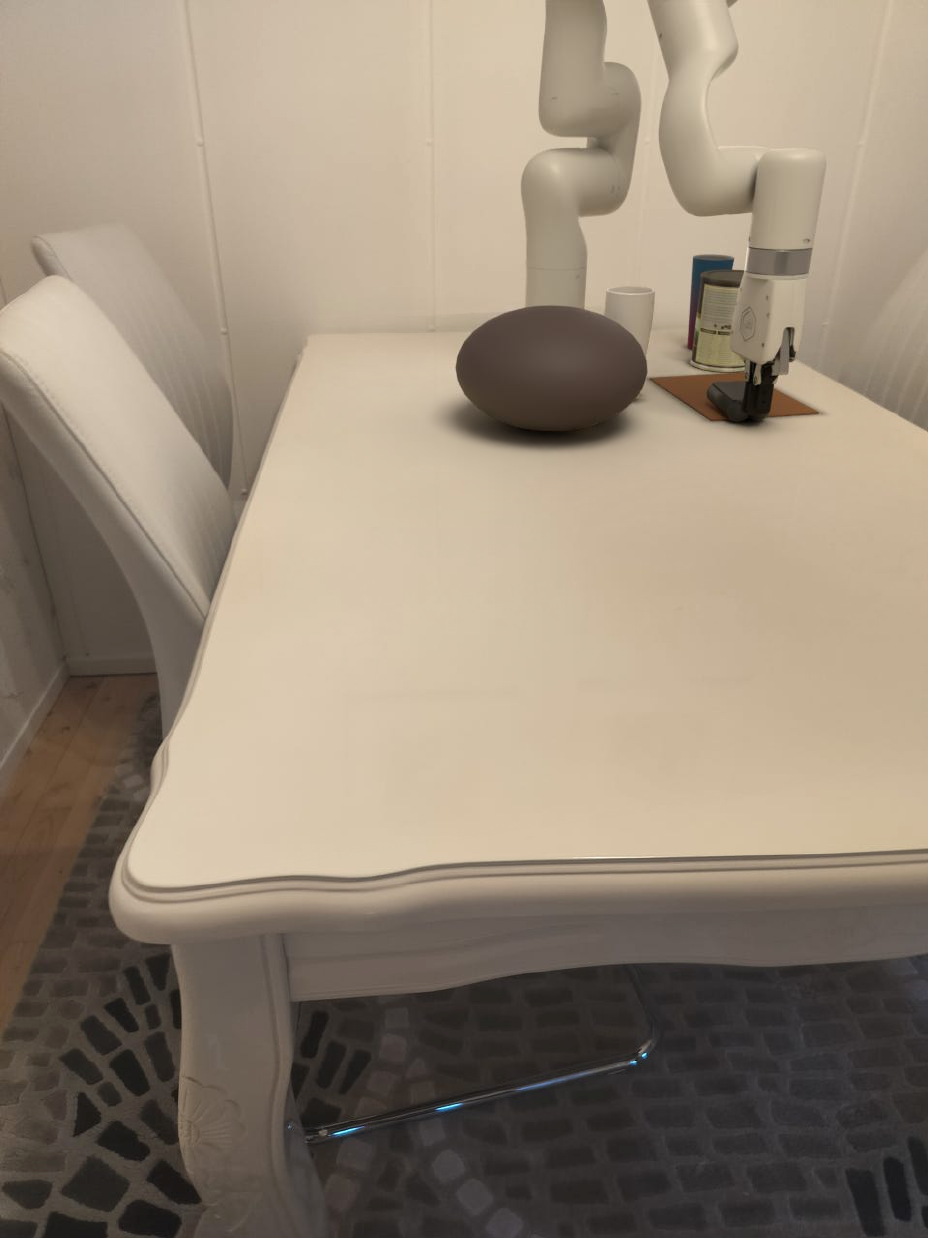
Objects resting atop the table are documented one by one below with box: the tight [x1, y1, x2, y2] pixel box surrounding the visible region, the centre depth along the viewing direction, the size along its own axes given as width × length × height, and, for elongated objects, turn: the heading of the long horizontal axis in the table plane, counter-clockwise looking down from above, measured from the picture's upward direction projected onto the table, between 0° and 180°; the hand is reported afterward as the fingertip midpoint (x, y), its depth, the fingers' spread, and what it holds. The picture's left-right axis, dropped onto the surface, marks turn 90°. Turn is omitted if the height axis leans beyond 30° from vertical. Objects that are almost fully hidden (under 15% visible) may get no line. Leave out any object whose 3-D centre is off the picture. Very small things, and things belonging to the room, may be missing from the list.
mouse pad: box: [649, 372, 819, 421], centre depth 130 cm, size 16×22×1 cm
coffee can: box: [690, 269, 745, 373], centre depth 143 cm, size 10×10×14 cm
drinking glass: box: [603, 285, 656, 401], centre depth 126 cm, size 7×7×15 cm
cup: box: [686, 253, 735, 351], centre depth 153 cm, size 7×7×15 cm
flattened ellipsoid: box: [455, 305, 648, 432], centre depth 115 cm, size 25×25×15 cm
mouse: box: [707, 381, 769, 423], centre depth 121 cm, size 6×10×3 cm, turn 9°
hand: (755, 412), depth 116 cm, fingers closed
